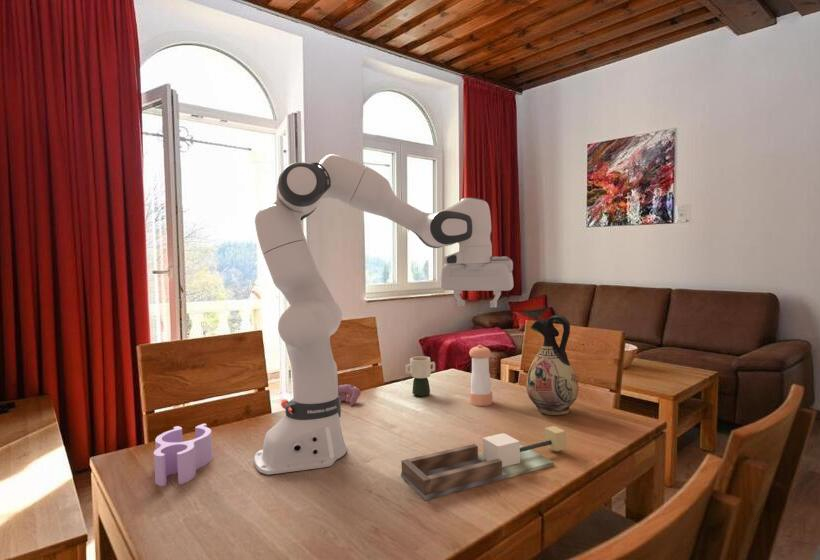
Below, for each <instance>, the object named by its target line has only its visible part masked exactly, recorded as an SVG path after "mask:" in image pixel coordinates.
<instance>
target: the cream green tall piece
mask: <svg viewBox="0 0 820 560" xmlns="http://www.w3.org/2000/svg"><path fill="white" fill-rule="evenodd" d="M409 369H410V370H409ZM435 371H436V362H435V361H431V357H430V356H425V355H424V356H421V355H420V356H419V355H418V356H413V357H411V358H409V364H405V374H406V375H410V376H411V378H413V380H412V382H413V383H412V392H411V393H412V394H413V395H415V396H420V397H421V396H422V397H424V396H428V395H430V394H431V388H430V387H431V386H430V383H429V379H428V378H430V377H431V374H432V372H435Z"/></svg>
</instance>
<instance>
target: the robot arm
mask: <svg viewBox="0 0 820 560" xmlns="http://www.w3.org/2000/svg"><path fill="white" fill-rule="evenodd" d="M326 198H327V199H328V198H329V199H330V198H331V199H335V200H339V201H340V202H342V203H344V204H345V205H348V206H350V207H352V208H354V209H357V210H360V211H362V212H365V213H369V214H372V215H375V216H378V217H379V216H380V217H383V218H386V219H388V220H390V221H392V222H393V223H395V224H398V225H400V226H401V227H403V228H405V229H407V230H409V231H411V232H412V233H414V234H415V236H416V237H418V239H419V240H420V241H421V242H422V243H423V244H424V245H425V246H426V247H429V248H432V249H438V248H439V249H440V248H443V247H447V246H452V245H455V244H457V243H458V245H459V251H457V252H454V253H452V254H448V255H446V256H444V257H443V260H442V261H443V264H444V266H443V267H442V269H441V275H440V277H441V278H440V286H441V288H442V289H443V291H453V296H454V297H455V299H456V301H457V307H459V308H460V307H461V308H462V307H465V306H466V305H465V304H466V303H465V299H462V297H461V293H462V291H471V292H472V291H473V292H474V291H479V292H480V291H483V292H484V291H485V292H487V291H488V292H489V291H493V292H492V293H493V296H494V298H492V299H493V300H490V301H489V307H490V308H497V307H498V300H499V299H500V296H501V295H502V292H503V291H504V292H505V291H506V292H507V291H511V290H512V289H513V288H514V276H513V270H514V261H513V260H512V259H511V258H510V257H509V256H506V255H505V256H493V250H492V249H493V246H492V241H491V234H492V219H491V217H492V215H491V210H490V206H489V203H488V202H487V201H486V200H484V199H482V198H478V197H463V198H461V200H459V201H457V202H456V203H455V204H453V205H451V206H449V207H447V208H445V209H442V210H439V211H437V212H434V213H433V212H432V213H431V212H429V213H428V212H424V211H422V210H420V209H418V208H416V207H414V206H412V205H411V204H409V203H407V202H406V201H404V200H402V199H400V198H399V197H398V196H397V195H396V194H395V192H394V190H393V188H392V187H391V184H390V182H389V180H388V179H387V178H386V177H385V176H383V175H382V174H381V173H379V172H377V171H376V170H374V169H372V168H371V167H369V166H366V165H365V164H363V163H360V162H358V161H355V160H353V159H350V158H349V157H344V156H341V155H337V154H332V153H331V154H328V155H326V156H324V157H323V158H322V159H321V160H320V162H302V161H301V162H299V161H298V162H294V163H291V164H289V165H287V166H286V167H285V168H284V169H283V170H282V171H281V173H280V174H279V176H278V180H277V186H276V200H275V202H273V203H272V204H269V205H266V206H263V207H262V208H261V209H260V210H259V211H258V212H257V213H256V215H255V217H254V224H255V232H256V235H257V239H258V244H259V247H260V249H261V252H262V253H261V254H262V255H263V258H264V260H265V263H266V266H267V269H268V271H269V274H270V276H271V279H272V282H273V284H274V285H275V287H276V288H277V289H278V291H280V292H281V294H282V295H283V296H284V297H285V300H286V301H287V302H288V304H289V306H288V308H287V309H286V310H284V312H283V313H282V314H281V315H280V317H279V321H278V325H277V329H278V334H279V337H280V338H281V340H282V341H283V342H284V344H285V347H286V351H287V355H288V359H289V363H290V367H291V376H292V377H291V379H292V396H293V397H292V399H291V400H290V401H289V400H288V399H286V398H285V399H282V400H281V402H280V406H281V407H282V408H283V409H284V412H285V416H283V417H282V418H281V419H280V420H279V421H277V423H275V425H274V426H273V427H271V428H269V430H267V432H266V434H265V436H264V440H263V446H262V449H259V450H258V451H257V452H255V454H254V458H253V464H254V466H255V469H256V470H257V471H258V472H260V473H261V474H264V475H268V476H269V475H275V474H276V475H277V474H278V475H279V474H285V473H291V472H300V471H305V470H307V471H308V470H314V469H321V468H322V469H323V468H328V467H332V466H333V465H334V464H335V462H336V461H337V460H338V459H340V458H342V457H344V456H345V455H346V453H347V451H348V448H347V446H346V443H345V440H344V435H343V431H342V423H341V418H342V417H341V413H342V405H341V404H342V403H341V402H342V401H341V400H340V396H339V395H338V386H339V385H338V384H339V383H338V381H339V380H338V365H337V363H336V361H335V358H334V355H333V351H332V346H331V336H332V335H334V334H336V333H337V331H338V330H339V327H340V325H341V322H342V318H343V313H342V312H343V311H342V309H341V307H340V305H339V304H338V303H337V302H336V301H335V299H334V297H333V295H332V292H331V291H330V289H329V287H328V286H327V284H326V282H325V280H324V279H323V276H322V275H321V274H320V272H319V271H320V270H319V269H318V267H317V265H316V262H315V260H314V257H313V255H312V252H311V248H310V246H309V244H308V241H307V239H306V236H305V234H304V231H303V228H302V221H303V220H304V219H305V218H307V217H309V216H310V215H312V214H313V213H314V212H315V210H316V209H317V207H318V206H319V204H320V202H321V201H322V199H326Z"/></svg>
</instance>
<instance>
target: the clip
mask: <svg viewBox="0 0 820 560" xmlns="http://www.w3.org/2000/svg"><path fill="white" fill-rule="evenodd" d="M207 426H208V425H207V423H201V424H198V425H197V426H195V428H194V430H195V431H194V432H195V438H193V439H190V440H184V441H183V427H181V426H179V425H178V426H177V425H176V426H173V428H172V429H170V430H167V431H164V432H162V433H161V434H159V435H157V436H156V438H154V440H155V444H154V445H155V450H154V451H153V464H154V465H153V466H154V483H155V485H157V486H158V485H159V487H165V486H166V485H167V484H168V483H167V482H168V481H167V477H168V476H171V475H174V474H177V481H178V482H177V483H178V485H182V484H185V483H188V482H190V481H191V480H193V479H194V478H195V477H196V475H197V474H196V473H197V472H196V471H197V470H198V469H200V468H201V467H204V466H206V465H209V463H211V461H212V460H213V442H212V441H213V437H212V429H211V428H209V427H207ZM170 474H171V475H170Z"/></svg>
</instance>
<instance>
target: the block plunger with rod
mask: <svg viewBox="0 0 820 560" xmlns="http://www.w3.org/2000/svg"><path fill="white" fill-rule="evenodd" d="M566 435H567V432H566V430H564V429H562V428H560V427H558V426H555V425H552V426H548V427H544V441H541V442H536V443H533V444H529V445H528V444H527V445H523V446H524V447H520V444H521V443H520V442H521V441H520V440H518V439H517V438H514V437H512V436H511V435H509V434H507V433H505V432H503V433H499V434H493V435H488V436H485V437H482V453H483V459H484V460H486V461H490V460H494V459H499V460H501V461H502V467H506V466H510V465H514V464H518V463H520V452H523V451H527V450H534V449H539V448H541V447H547V448H549V449H550V450H553V451H555V452H559V451H563V450H566V447H567V444H566V442H567V441H566V439H567V437H566Z"/></svg>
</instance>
